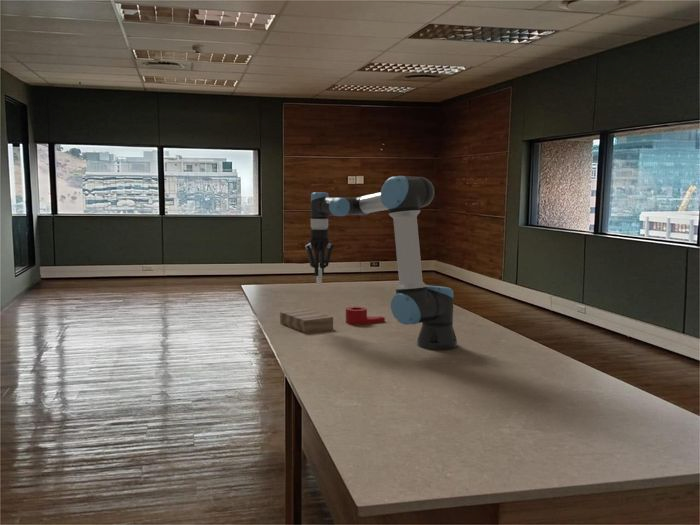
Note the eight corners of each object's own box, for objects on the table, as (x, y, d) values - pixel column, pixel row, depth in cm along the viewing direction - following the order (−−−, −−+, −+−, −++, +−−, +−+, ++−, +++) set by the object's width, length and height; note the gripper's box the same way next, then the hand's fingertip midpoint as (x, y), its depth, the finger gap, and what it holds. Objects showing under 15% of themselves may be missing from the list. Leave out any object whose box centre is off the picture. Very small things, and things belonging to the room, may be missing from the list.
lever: (348, 326, 276) (348, 311, 275) (343, 321, 285) (343, 307, 284) (387, 324, 280) (388, 309, 280) (381, 319, 289) (381, 305, 289)
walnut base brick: (333, 330, 267) (333, 317, 266) (304, 334, 260) (304, 320, 259) (307, 321, 285) (307, 308, 285) (280, 325, 278) (280, 311, 277)
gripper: (329, 227, 275) (329, 281, 277) (301, 228, 269) (301, 282, 272) (337, 228, 268) (336, 283, 271) (308, 229, 262) (308, 285, 265)
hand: (319, 283), depth 271 cm, fingers closed
